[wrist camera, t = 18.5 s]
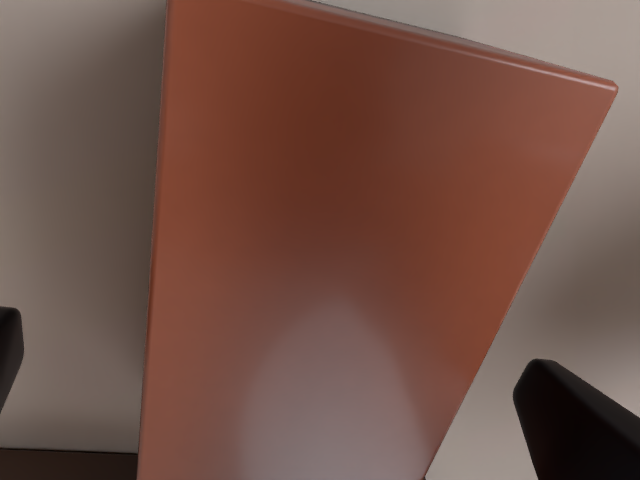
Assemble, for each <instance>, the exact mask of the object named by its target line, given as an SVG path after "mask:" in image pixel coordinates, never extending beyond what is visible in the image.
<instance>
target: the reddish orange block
mask: <svg viewBox="0 0 640 480" xmlns="http://www.w3.org/2000/svg"><path fill="white" fill-rule="evenodd" d="M617 93H618V86H617V85H616V84H615V83H614V82H613V81H611V80H607V79H604V78H600V77H597V76H593V75H590V74H586V73H583V72H580V71H576V70H573V69H569V68H566V67H562V66H559V65H555V64H552V63H548V62H545V61H541V60H538V59H534V58H531V57H527V56H524V55H520V54H517V53H513V52H510V51H507V50H503V49H500V48H496V47H492V46H489V45H486V44H482V43H479V42H475V41H472V40H468V39H465V38H461V37H457V36H453V35H449V34H445V33H441V32H437V31H433V30H429V29H425V28H421V27H417V26H413V25H409V24H405V23H401V22H397V21H393V20H389V19H384V18H380V17H376V16H372V15H368V14H364V13H360V12H356V11H352V10H348V9H344V8H340V7H336V6H332V5H328V4H324V3H320V2H316V1H312V0H167V3H166V19H165V35H164V51H163V67H162V82H161V98H160V114H159V130H158V146H157V162H156V178H155V193H154V209H153V225H152V241H151V257H150V273H149V289H148V305H147V320H146V336H145V352H144V368H143V384H142V400H141V416H140V431H139V447H138V463H137V479H136V480H423V479H424V477H425V475H426V473H427V471H428V469H429V467H430V465H431V463H432V461H433V459H434V457H435V455H436V453H437V451H438V449H439V447H440V445H441V443H442V441H443V439H444V437H445V435H446V433H447V431H448V429H449V427H450V425H451V423H452V421H453V419H454V417H455V415H456V413H457V411H458V409H459V407H460V405H461V403H462V401H463V399H464V397H465V395H466V393H467V391H468V389H469V388H470V386H471V384H472V382H473V380H474V378H475V376H476V374H477V372H478V370H479V368H480V366H481V364H482V362H483V360H484V358H485V356H486V354H487V352H488V350H489V348H490V346H491V344H492V342H493V340H494V338H495V336H496V334H497V332H498V330H499V328H500V326H501V324H502V322H503V320H504V318H505V316H506V314H507V312H508V310H509V308H510V306H511V304H512V302H513V300H514V298H515V296H516V294H517V292H518V290H519V288H520V286H521V284H522V282H523V280H524V278H525V276H526V274H527V272H528V270H529V268H530V266H531V264H532V262H533V260H534V258H535V256H536V254H537V252H538V250H539V248H540V246H541V244H542V242H543V240H544V238H545V236H546V234H547V232H548V230H549V228H550V226H551V224H552V222H553V220H554V218H555V216H556V214H557V212H558V210H559V208H560V206H561V204H562V202H563V200H564V198H565V196H566V194H567V192H568V190H569V188H570V186H571V184H572V182H573V180H574V178H575V176H576V174H577V172H578V170H579V168H580V166H581V164H582V162H583V160H584V158H585V156H586V154H587V152H588V150H589V148H590V146H591V144H592V142H593V140H594V138H595V136H596V134H597V132H598V130H599V128H600V126H601V124H602V123H603V121H604V119H605V117H606V115H607V113H608V111H609V109H610V107H611V105H612V103H613V101H614V99H615V97H616V95H617Z"/></svg>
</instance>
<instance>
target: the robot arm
mask: <svg viewBox="0 0 640 480" xmlns="http://www.w3.org/2000/svg"><path fill="white" fill-rule="evenodd" d="M23 355H24V342H23V331H22V320H21V314H20V312H19V310H17V309H16V308H11V307H1V306H0V413H1V411H2V408H3V406H4V404H5V401H6V399H7V396H8V394H9V392H10V389H11V387H12V385H13V382H14V380H15V377H16V375H17V373H18V370H19V368H20V366H21V363H22V360H23ZM513 401H514V405H515V408H516V411H517V414H518V417H519V421H520V424H521V427H522V430H523V433H524V437H525V440H526V443H527V446H528V449H529V453H530V456H531V459H532V462H533V465H534V468H535V471H536V474H537V477H538V480H640V418H639V417H638V416H636V415H635V414H633V413H632V412H630V411H629V410H627V409H626V408H624V407H623V406H621V405H620V404H618V403H617V402H615V401H614V400H612V399H611V398H609V397H608V396H606V395H605V394H603V393H602V392H600V391H599V390H597V389H596V388H594V387H593V386H591V385H590V384H588V383H587V382H585V381H584V380H582V379H581V378H579V377H578V376H576V375H575V374H573V373H572V372H570V371H569V370H567V369H566V368H564V367H563V366H561V365H560V364H558V363H557V362H555V361H552V360H544V359H533V360H531V361H530V362H529V363H528V364H527V366H526V368H525V370H524V372H523V373H522V375H521V377H520V379H519V380H518V382H517V384H516V386H515V388H514V391H513Z"/></svg>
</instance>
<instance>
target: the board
mask: <svg viewBox="0 0 640 480" xmlns="http://www.w3.org/2000/svg"><path fill="white" fill-rule="evenodd" d="M137 463H138V455H129V454H104V453H80V452H56V451H31V450H7V449H0V480H136V479H137ZM423 480H426V479H425V477H424V479H423Z"/></svg>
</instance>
